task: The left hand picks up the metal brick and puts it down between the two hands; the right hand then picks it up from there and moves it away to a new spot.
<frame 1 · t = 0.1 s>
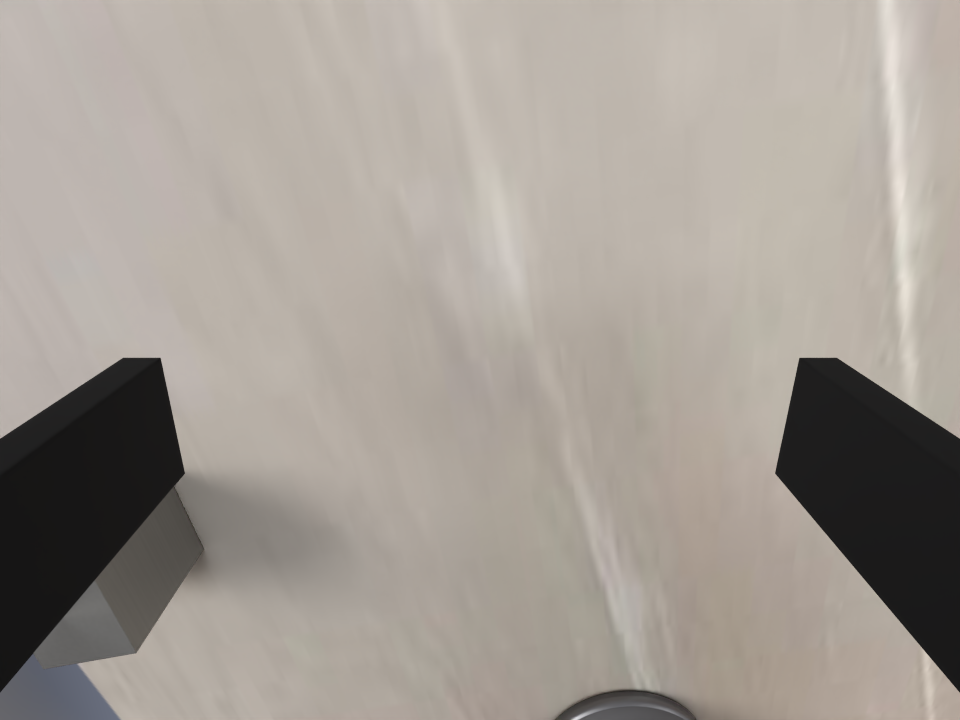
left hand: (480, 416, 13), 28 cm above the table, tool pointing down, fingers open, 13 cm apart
brick: (146, 517, 47), on the table
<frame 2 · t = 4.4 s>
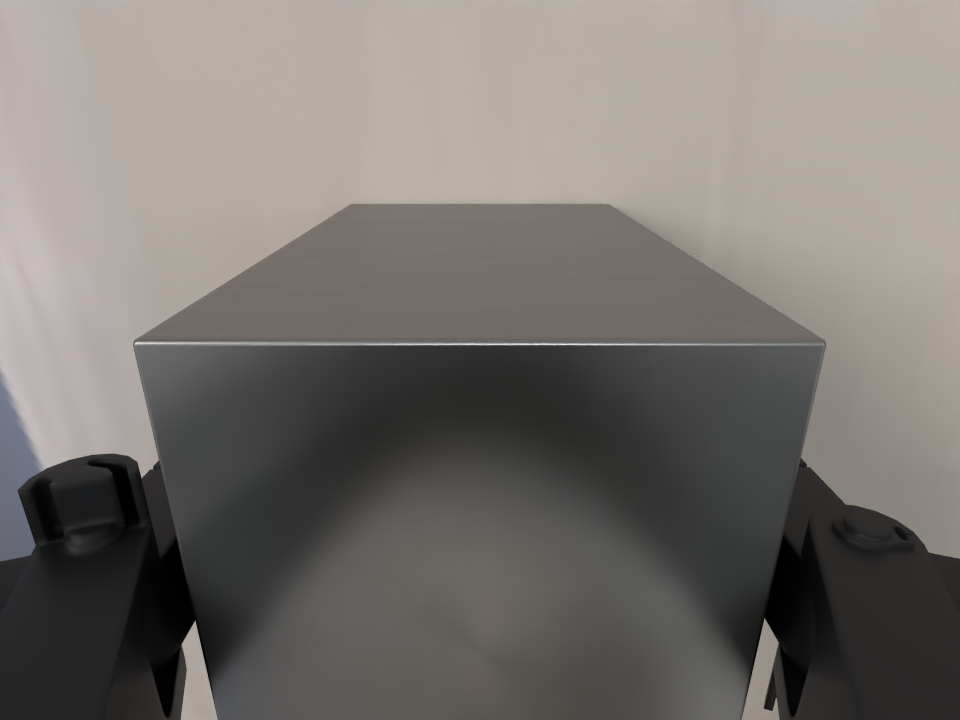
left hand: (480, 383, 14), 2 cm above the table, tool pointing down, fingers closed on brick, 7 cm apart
brick: (479, 347, 17), on the table, touching left hand
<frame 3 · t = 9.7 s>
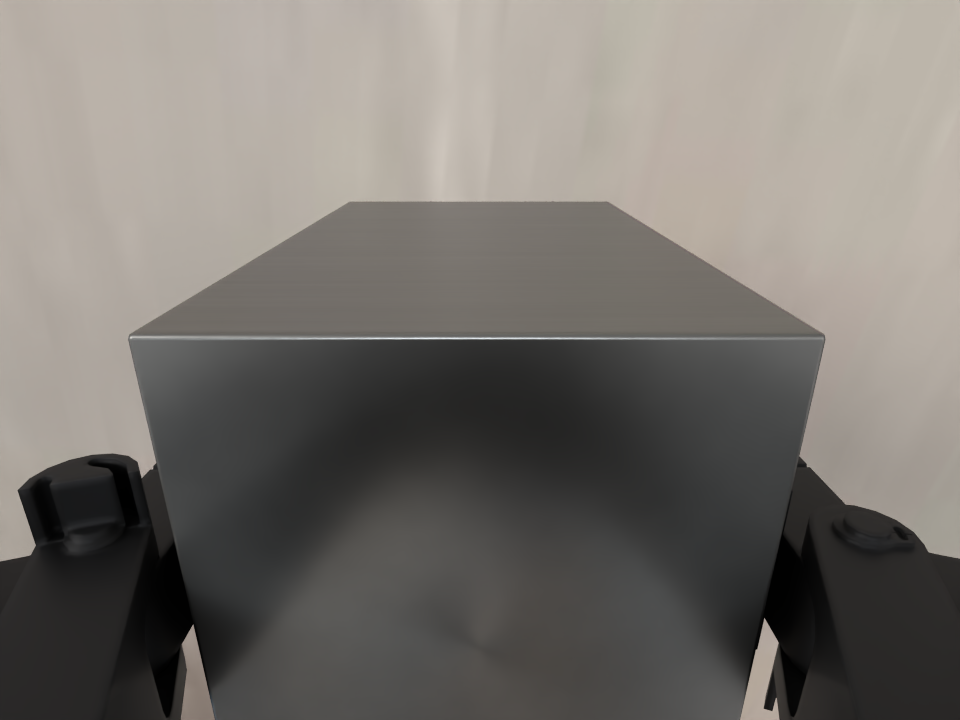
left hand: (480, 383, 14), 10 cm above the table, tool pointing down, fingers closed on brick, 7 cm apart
brick: (478, 345, 16), point 8 cm above the table, touching left hand
when the left hand's fingers open (4 cm above the table, at t = 15.4 s): brick drops 2 cm, on the table.
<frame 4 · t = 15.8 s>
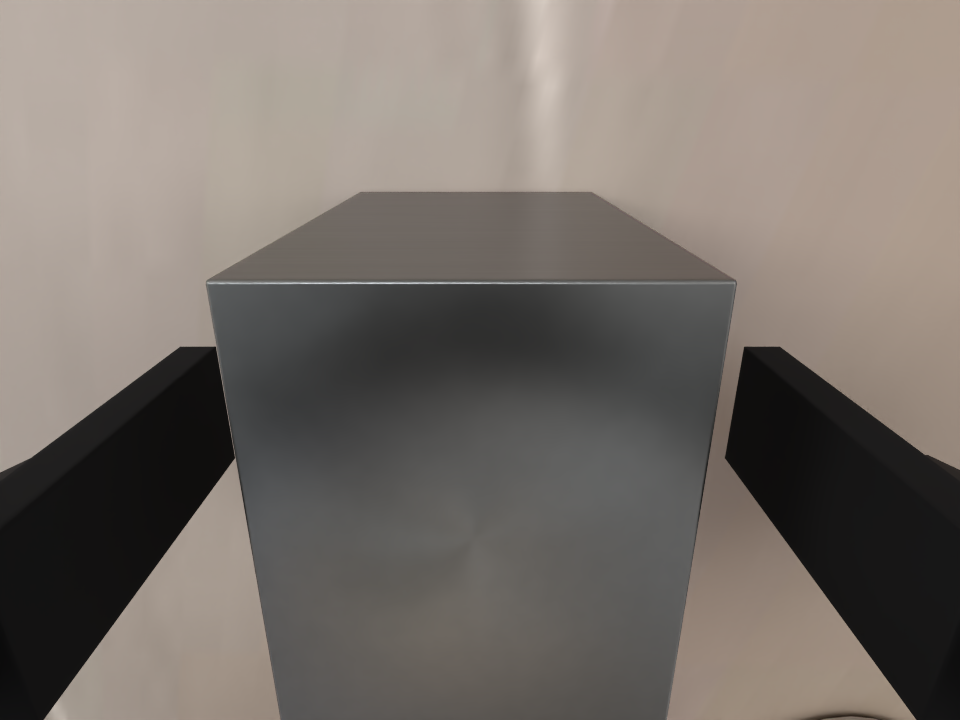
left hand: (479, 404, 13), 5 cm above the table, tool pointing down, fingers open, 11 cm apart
brick: (476, 322, 18), on the table
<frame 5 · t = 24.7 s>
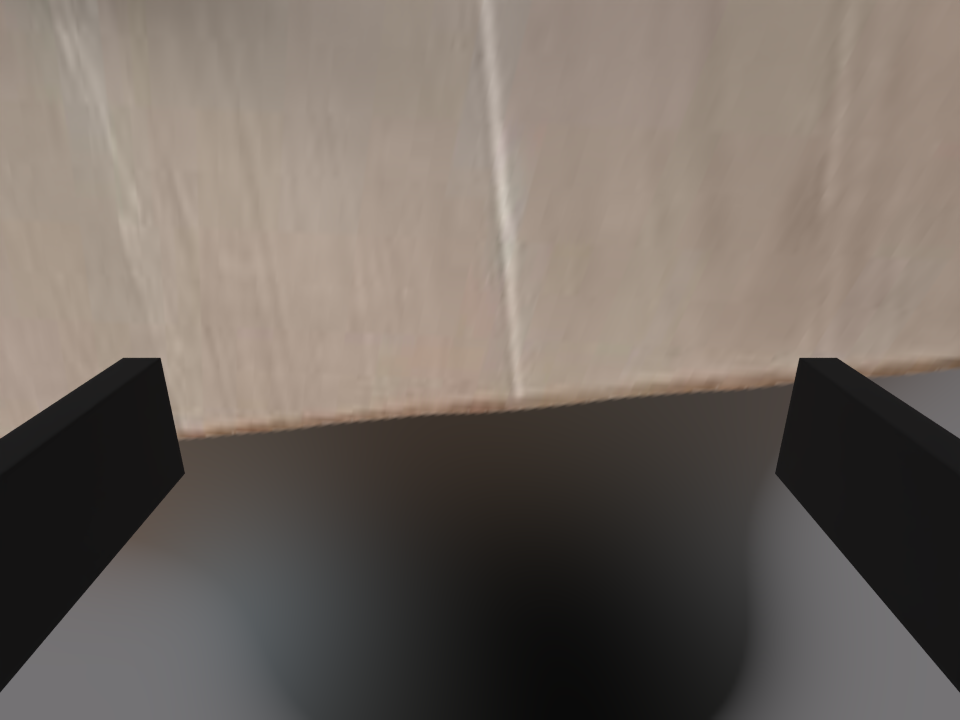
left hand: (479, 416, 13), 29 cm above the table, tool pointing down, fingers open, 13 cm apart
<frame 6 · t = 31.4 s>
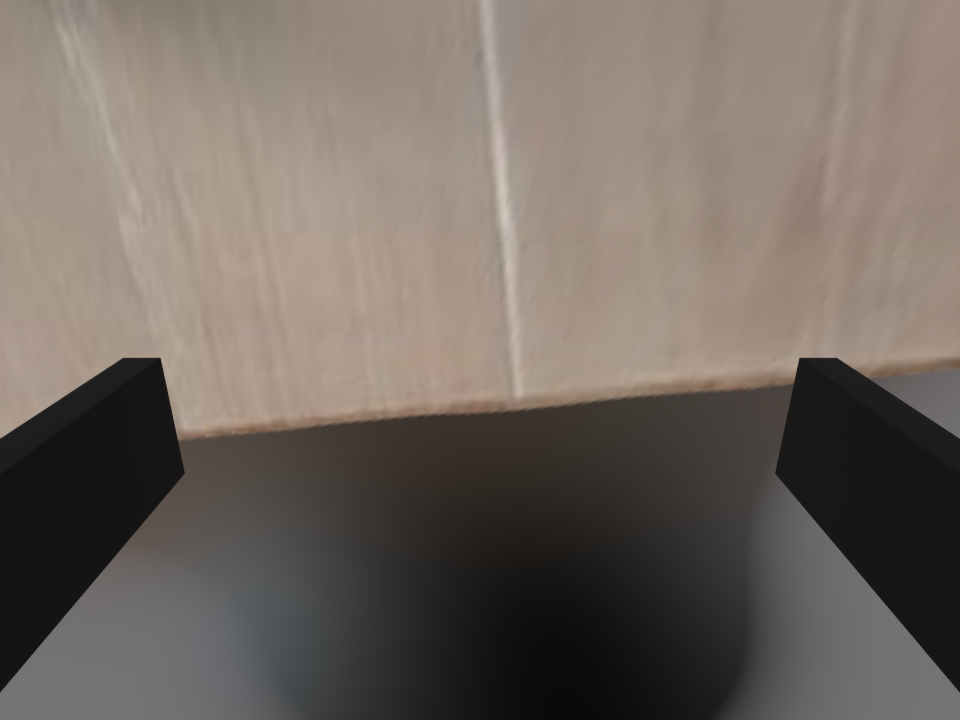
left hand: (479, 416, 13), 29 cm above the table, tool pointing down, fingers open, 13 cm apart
when the right hand's fingers open (4 cm above the table, at t = 38.4 s): brick drops 2 cm, on the table.
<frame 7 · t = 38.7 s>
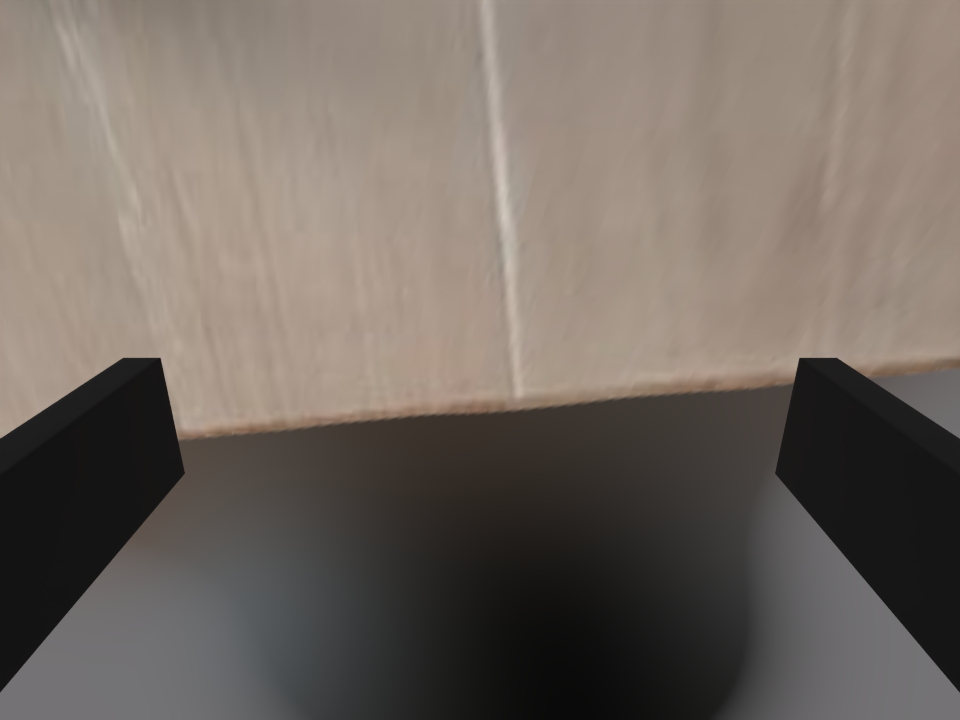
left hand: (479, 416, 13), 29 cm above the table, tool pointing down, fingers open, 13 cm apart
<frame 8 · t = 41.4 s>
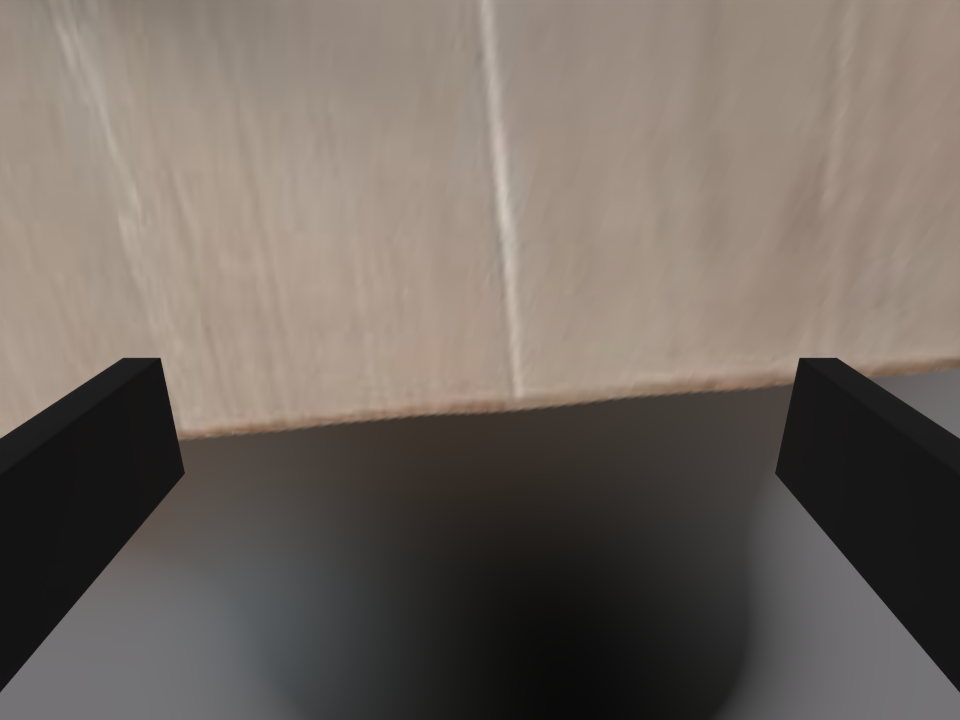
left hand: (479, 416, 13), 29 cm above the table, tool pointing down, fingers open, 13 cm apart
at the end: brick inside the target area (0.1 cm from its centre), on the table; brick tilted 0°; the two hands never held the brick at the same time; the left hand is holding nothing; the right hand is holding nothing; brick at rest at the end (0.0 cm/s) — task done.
